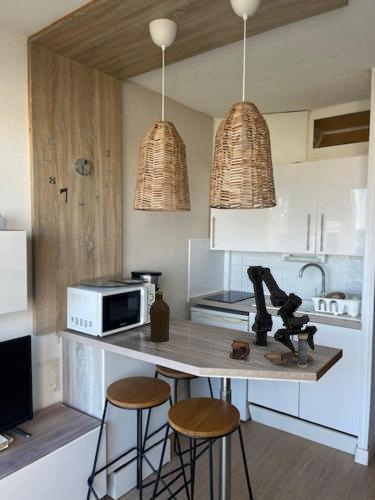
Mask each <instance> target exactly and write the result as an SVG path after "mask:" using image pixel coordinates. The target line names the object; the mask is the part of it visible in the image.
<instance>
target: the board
mask: <svg viewBox="0 0 375 500" xmlns="http://www.w3.org/2000/svg"><path fill="white" fill-rule="evenodd" d="M295 351H296V352H295V353H293V352H292V351H291V350H290V349H289V350H283V351H277V352H267V353H263V358H265V359H267V360H269V361H270V362H271V363H272V364H275V365H283V364H287V363H288V359H287V358H294V357H295V358H297V359H298V349H295ZM312 360H313V355H311V354H308V353H307V357H306V361H312Z"/></svg>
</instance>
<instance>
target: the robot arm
mask: <svg viewBox="0 0 375 500" xmlns="http://www.w3.org/2000/svg"><path fill="white" fill-rule="evenodd" d="M246 273H247V278H248V280H250V283H252V288H253V295H254V301H255V302H254V303H255V307H256V313H255V316H254V322H253V323H252V325H251V331H252V332H253V333H255V340H254V343H253V345H255V346H256V345H257V346H266V347H267V346H268V345H269V344H270V343H269V340H268V332H270V333H271V332H272V330H273V325H274V322H273V315H272V313H269V312H268V309H267V302H266V296H265V291H264V284H265V287H266V288H267V290H268V291H269V294H270V295H269V296H270V297H269V301H270V303H271V304H272V305H271V306H273V308H279V309H277V312H276V316H280V319H281V321H282V322H283V323H282V327H283V328H278V329H277V330H276V331H275V333H274V334H273V339H274V341H275V342H278V343H281V344H282V345H283V346H285V347H286V348H288V350H289V351H290V350H291V351H292V352H293V353H295V352H296V351H295V350H296V348H295V346H294V344H293V342H292V340H291V336H297V335H298V334H306V335H307V345H308V346H309V348H310V349H311V350H312V351H315V343H314V335H315V334H316V333H317V332H318V327H317V326H316V325H313V324H311V325H308V323H310V321H311V320H310V317H309V315H308V314H303V315H302V316H296V315H295V314H294V313H296V312H297V311H298V309H299V308H300V307H301V305H302V304H303V299H302V297H300V296H299V295H297V294H295V292H289V294H287V292H286V291H284V290H283V289H281V288H280V287H279V286H280V285H279V284H278V283H277V281H276V279H275V278H274V275H273V274H272V271H271V269H270V267H267V266H265V267H263V265H250V266H248V267H247V269H246ZM263 283H264V284H263ZM304 325H306V326H305V328H304ZM284 327H285V328H284ZM303 328H304V329H303Z"/></svg>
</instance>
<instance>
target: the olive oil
mask: <svg viewBox="0 0 375 500" xmlns="http://www.w3.org/2000/svg"><path fill="white" fill-rule="evenodd" d="M155 295H156V299H155V300H154V301H153V302H152V303H151V305H150V307H149V313H148V314H149V324H150V325H149V326H150V340H151V342H154V343H165V342H168V341H169V340H170V320H171V308H170V305H169V304H168V303H167V302H166V301H165V300H164V294H163V291H156V294H155Z"/></svg>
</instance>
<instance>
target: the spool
mask: <svg viewBox="0 0 375 500" xmlns="http://www.w3.org/2000/svg"><path fill="white" fill-rule="evenodd" d="M296 336H297V350H298V358H297V362H296V366H297V368H300V369H307V368H308V363H307V360H306V357H307V354H308V353H307V351H308V350H307V349H308V348H307V347H308V346H307V345H308V343H307V335H306V334H298V335H296Z"/></svg>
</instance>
